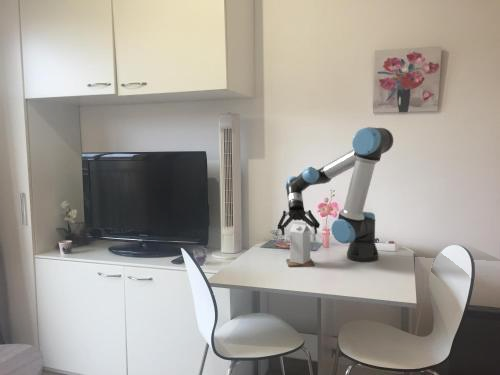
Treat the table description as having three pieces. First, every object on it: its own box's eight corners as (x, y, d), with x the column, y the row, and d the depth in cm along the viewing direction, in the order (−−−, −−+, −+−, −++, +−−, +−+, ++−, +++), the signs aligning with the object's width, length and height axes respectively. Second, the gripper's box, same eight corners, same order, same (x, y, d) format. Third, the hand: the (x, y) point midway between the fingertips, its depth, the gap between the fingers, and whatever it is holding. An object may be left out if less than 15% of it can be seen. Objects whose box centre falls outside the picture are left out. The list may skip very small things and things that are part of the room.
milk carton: (297, 258, 205) (297, 220, 203) (310, 260, 201) (310, 221, 199) (290, 262, 199) (289, 222, 197) (303, 264, 195) (302, 224, 193)
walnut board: (310, 260, 205) (310, 258, 205) (314, 266, 195) (314, 264, 195) (286, 261, 205) (286, 259, 204) (288, 267, 195) (288, 265, 195)
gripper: (319, 207, 213) (325, 243, 200) (270, 209, 212) (273, 245, 199) (321, 198, 207) (327, 235, 194) (271, 200, 207) (274, 236, 193)
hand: (300, 240), depth 196 cm, fingers open, 13 cm apart
